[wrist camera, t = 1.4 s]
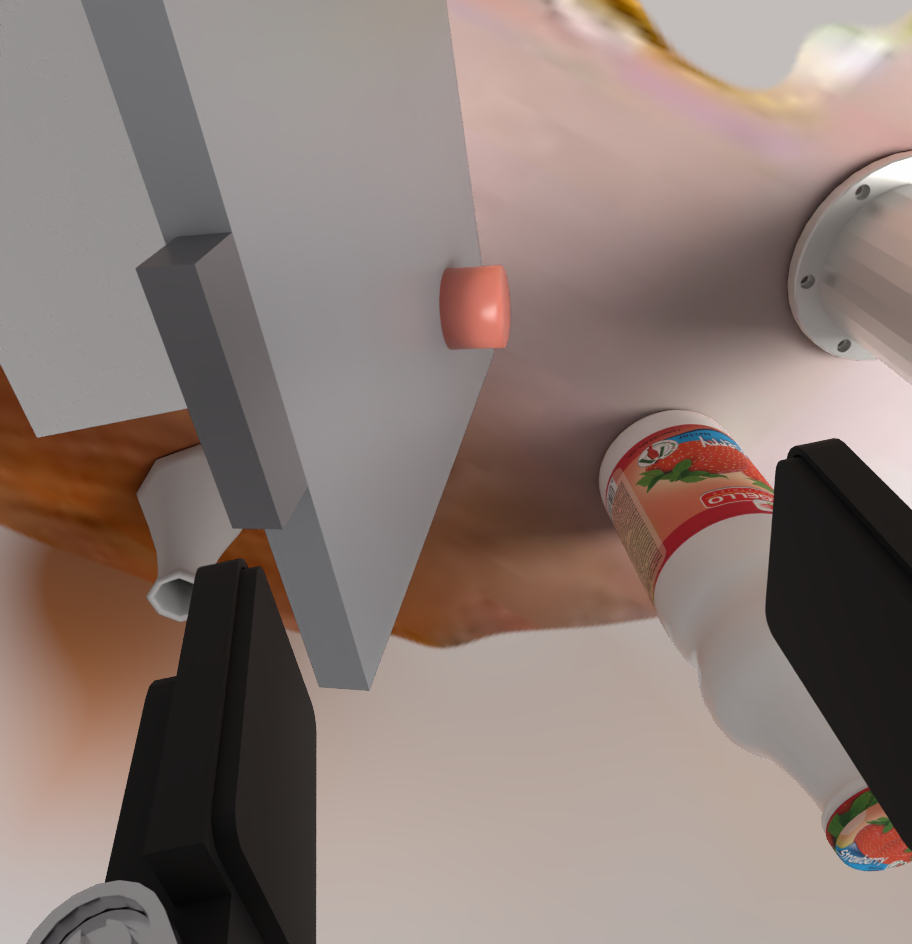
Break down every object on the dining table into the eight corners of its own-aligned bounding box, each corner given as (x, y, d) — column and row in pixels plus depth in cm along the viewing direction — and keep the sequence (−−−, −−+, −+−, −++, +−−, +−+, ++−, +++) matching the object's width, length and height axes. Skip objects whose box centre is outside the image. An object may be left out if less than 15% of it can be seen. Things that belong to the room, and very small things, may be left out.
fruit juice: (569, 498, 58) (738, 888, 35) (644, 384, 54) (894, 739, 30) (678, 538, 61) (900, 918, 38) (757, 433, 57) (1061, 787, 34)
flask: (115, 490, 53) (77, 596, 44) (199, 423, 51) (177, 521, 43) (201, 557, 56) (181, 667, 48) (283, 497, 55) (277, 600, 46)
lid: (378, -177, 29) (480, -197, 28) (462, 355, 40) (536, 353, 39) (-69, -225, 11) (159, -283, 11) (298, 733, 23) (425, 744, 22)
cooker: (353, -225, 36) (364, -269, 27) (443, 318, 49) (469, 398, 41) (-125, -143, 35) (-263, -162, 27) (102, 384, 49) (58, 480, 40)
